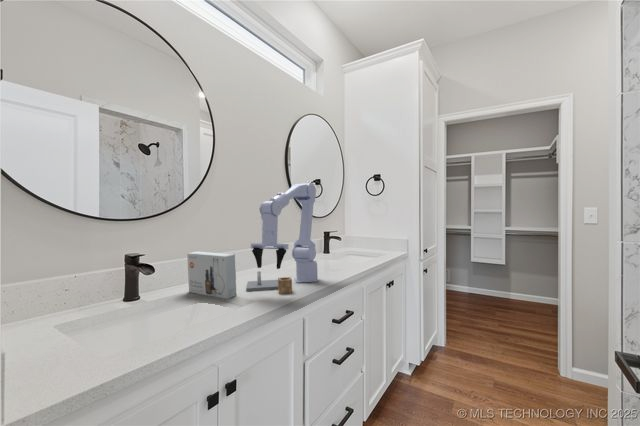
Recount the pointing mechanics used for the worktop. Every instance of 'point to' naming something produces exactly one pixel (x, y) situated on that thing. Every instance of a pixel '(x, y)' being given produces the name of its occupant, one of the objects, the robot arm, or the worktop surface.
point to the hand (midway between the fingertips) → (268, 268)
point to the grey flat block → (261, 284)
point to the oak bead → (285, 285)
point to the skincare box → (212, 274)
